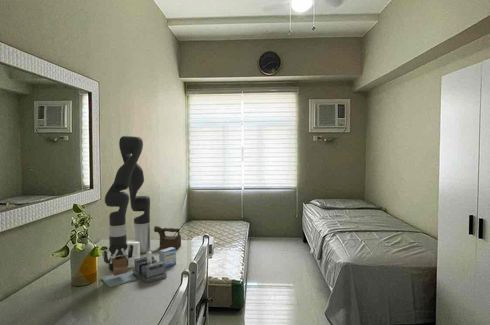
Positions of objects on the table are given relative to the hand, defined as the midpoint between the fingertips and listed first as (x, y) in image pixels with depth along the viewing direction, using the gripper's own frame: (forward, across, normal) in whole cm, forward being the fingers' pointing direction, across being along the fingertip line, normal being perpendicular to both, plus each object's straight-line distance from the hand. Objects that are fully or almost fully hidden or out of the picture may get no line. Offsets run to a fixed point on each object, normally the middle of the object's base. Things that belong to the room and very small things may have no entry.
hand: (118, 268), depth 150 cm
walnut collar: (+2, 0, 0) cm, 2 cm away
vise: (+5, -13, +5) cm, 15 cm away
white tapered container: (+5, -12, -15) cm, 20 cm away
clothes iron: (+5, -41, -28) cm, 50 cm away
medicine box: (+5, -26, -1) cm, 27 cm away
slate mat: (+5, 0, 0) cm, 5 cm away
